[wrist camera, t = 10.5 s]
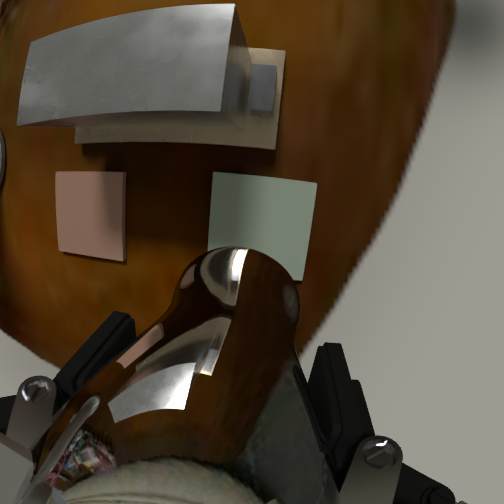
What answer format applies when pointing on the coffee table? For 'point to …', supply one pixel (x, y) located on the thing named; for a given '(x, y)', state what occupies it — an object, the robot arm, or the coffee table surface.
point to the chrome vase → (196, 404)
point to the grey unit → (156, 80)
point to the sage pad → (263, 216)
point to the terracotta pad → (91, 213)
